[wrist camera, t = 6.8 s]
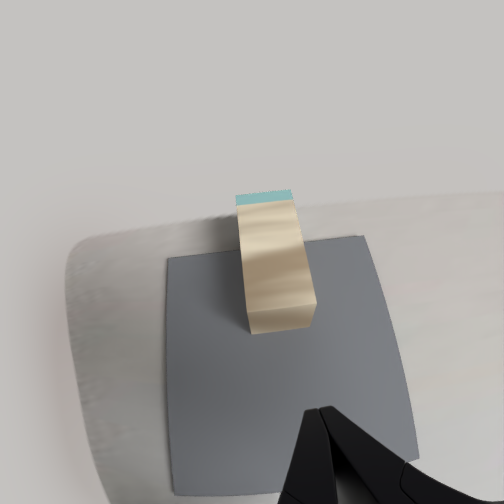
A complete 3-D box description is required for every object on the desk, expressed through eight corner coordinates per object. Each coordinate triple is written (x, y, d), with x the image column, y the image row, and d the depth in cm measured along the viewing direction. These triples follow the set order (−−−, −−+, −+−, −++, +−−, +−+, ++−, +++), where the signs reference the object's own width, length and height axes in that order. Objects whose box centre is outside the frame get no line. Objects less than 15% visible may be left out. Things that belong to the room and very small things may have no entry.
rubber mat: (416, 457, 15) (419, 458, 15) (176, 494, 15) (174, 495, 15) (362, 238, 25) (363, 235, 25) (170, 261, 25) (168, 258, 25)
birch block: (317, 303, 17) (290, 189, 22) (246, 312, 17) (235, 195, 22) (309, 326, 21) (288, 223, 26) (251, 334, 21) (240, 229, 26)
